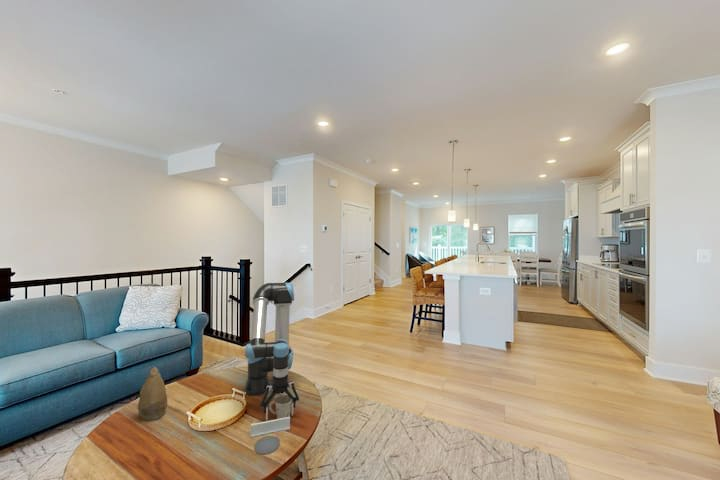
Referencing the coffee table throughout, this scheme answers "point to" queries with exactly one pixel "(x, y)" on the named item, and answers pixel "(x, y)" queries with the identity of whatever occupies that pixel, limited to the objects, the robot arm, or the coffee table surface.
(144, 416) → the sculpture
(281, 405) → the mug
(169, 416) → the coffee table surface
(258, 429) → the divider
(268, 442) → the coaster
